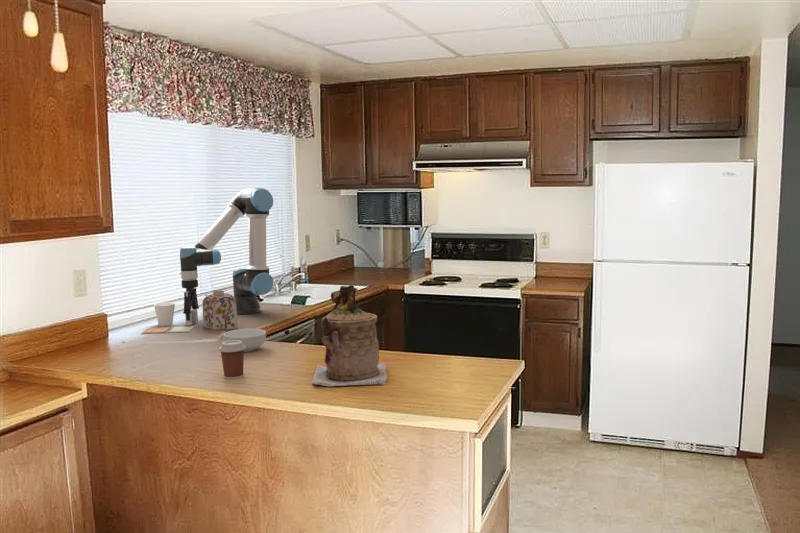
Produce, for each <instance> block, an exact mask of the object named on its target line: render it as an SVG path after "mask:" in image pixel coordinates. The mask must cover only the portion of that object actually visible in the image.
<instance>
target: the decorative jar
mask: <svg viewBox="0 0 800 533" xmlns="http://www.w3.org/2000/svg"><path fill="white" fill-rule="evenodd" d="M202 317H203V318H202V320H203V327H204V328H207V329H210V330H214V331H217V330H221V329H222V330H223V329H224V330H223V331H224V332H225V330H227V331H232V330H237V329H238V314H237V308H236V300H235V299H234V295H233V294H231V293H225V291H224V290H222V289H218V290H214V291H213V294H208V295H206V296H205V297H204V299H203V300H202ZM231 329H232V330H231Z"/></svg>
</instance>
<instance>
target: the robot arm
mask: <svg viewBox="0 0 800 533" xmlns="http://www.w3.org/2000/svg"><path fill="white" fill-rule="evenodd" d="M273 205H274V198H273V195H272V193H271V192H270V191H269V190H268V189H266V188H263V187H256V188H255V187H254V188H252V187H250V188H249V187H248V188H244V189H242V190H241V191H239V192H238V193H237V194H236V195H235V196H234V197H233V198H232V199H231V201H230V202H229V203H228V204H227V208H226V209H225V211H224V212H223V213H222V214H221V215H220V217H219V218H217V220H216V221H215V222H214V223H213V225H212V226H211V227H210V228H209V229H208V230H207V231H206V233H205V234H204V235H203V236H202V237H201V238H200V240H199V241H198V242H197V243H196V244H195V245H194V246H182V247H181V248H180V249H179V261H180V273H179V275H180V276H181V277H180V278H181V279H182V280H181V288H183V289H185V291H184V292H183V295H184V296H183V314H184V316H185V326H193V324H192V314H191V310H197V311H198V310H199V309H200V306H199V301H198V296H197V295H198V293H197V288H198V287H199V279H198V278H199V276H198V267H201V266H214V265H219V264H220V263H221V260H222V254H221V252H220V251H221V250H219V249H216V248H215V246H216V245H217V244H218V243H219V242H220V241H221V239H222V238H223V237H224V236H225V235H226V234H227V232H229V230H230V229H231V228H232V227H233V226H234V225H235V223H236V222H238V220H239V219H240V218H243V217H244V216H245V215H246V217H247V218H248V254H249V255H248V266H246V268H237V269H234V270H233V271H232V285H233V286H232V287H233V297H234V299H235V300H236V308H237V315H247V314H248V315H249V314H255V313H260V312H261V305H260V302H259V300H258V297H257V296H264V295H267V294H268V293H270V291H271V290H272V289H273V287H274V278H273V276H272V275H271V273H270V267H269V266H268V265H267V218H268V217H269V216H270V210H271V209H272V207H273ZM214 248H215V249H214Z"/></svg>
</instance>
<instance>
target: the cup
mask: <svg viewBox="0 0 800 533" xmlns="http://www.w3.org/2000/svg"><path fill="white" fill-rule="evenodd" d="M153 307H154V312H155V315H156V319H157V320H156V321H157V324H158V326H159V327H160V326H161V327H166V326H167V327H168V326H171V325H173V324H174V317H175V315H174V314H175V307H176V302H172V301H171V302H170V301H169V302H158V303H154V304H153Z"/></svg>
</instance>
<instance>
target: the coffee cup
mask: <svg viewBox="0 0 800 533" xmlns="http://www.w3.org/2000/svg"><path fill="white" fill-rule="evenodd" d="M245 349H246V346H245V345H244V344H243V343H242V341H240V340H230V341H225V342H224V341H222V342H221V344H220V347H218V352H220V354H221V361H222V362H221V363H222V369H223V377H224V379H227V380H236V379H241V378H243V377H244V362H245V361H244V360H245V359H244V358H245V352H244V350H245Z"/></svg>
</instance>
